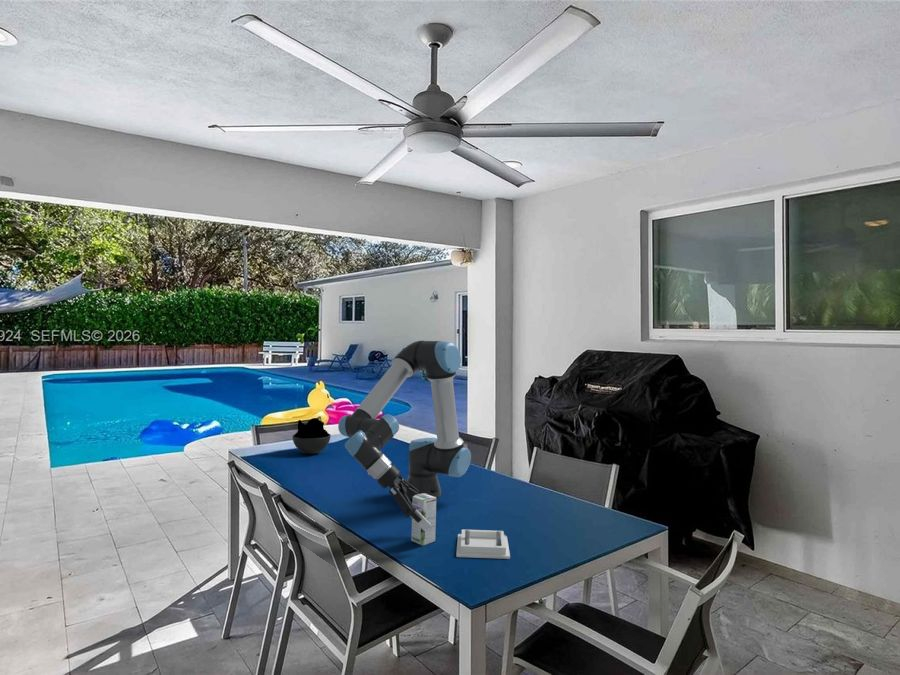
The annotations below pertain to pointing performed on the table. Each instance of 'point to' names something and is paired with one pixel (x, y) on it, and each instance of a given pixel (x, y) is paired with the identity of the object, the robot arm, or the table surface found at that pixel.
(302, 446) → the coal bowl
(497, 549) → the tray
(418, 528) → the syrup box
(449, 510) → the table surface
